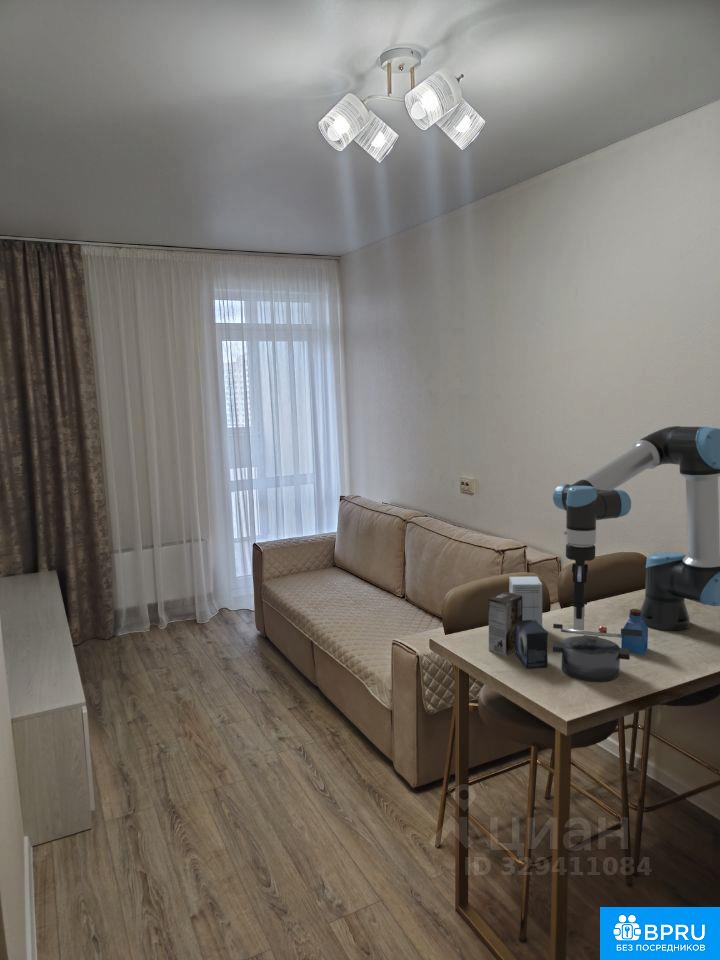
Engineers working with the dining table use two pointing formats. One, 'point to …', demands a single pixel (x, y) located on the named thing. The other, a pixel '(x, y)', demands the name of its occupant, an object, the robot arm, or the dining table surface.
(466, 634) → the dining table surface
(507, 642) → the coffee box
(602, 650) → the pot
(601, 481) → the robot arm
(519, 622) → the small box
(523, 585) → the supplement box
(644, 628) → the perfume bottle
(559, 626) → the lid
